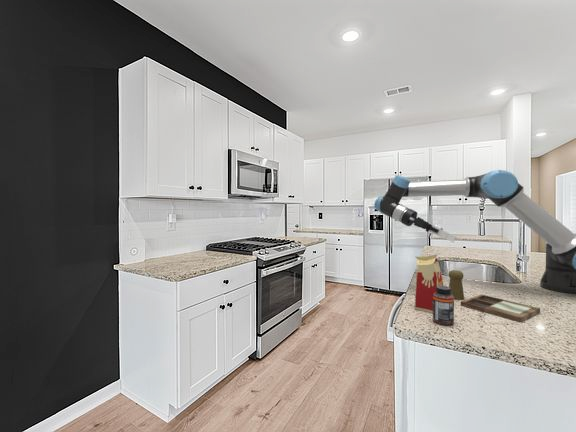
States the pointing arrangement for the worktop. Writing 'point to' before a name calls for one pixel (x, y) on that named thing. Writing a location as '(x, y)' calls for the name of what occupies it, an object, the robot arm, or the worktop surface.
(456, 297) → the cork
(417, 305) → the milk carton
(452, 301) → the supplement bottle
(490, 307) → the board
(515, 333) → the worktop surface
